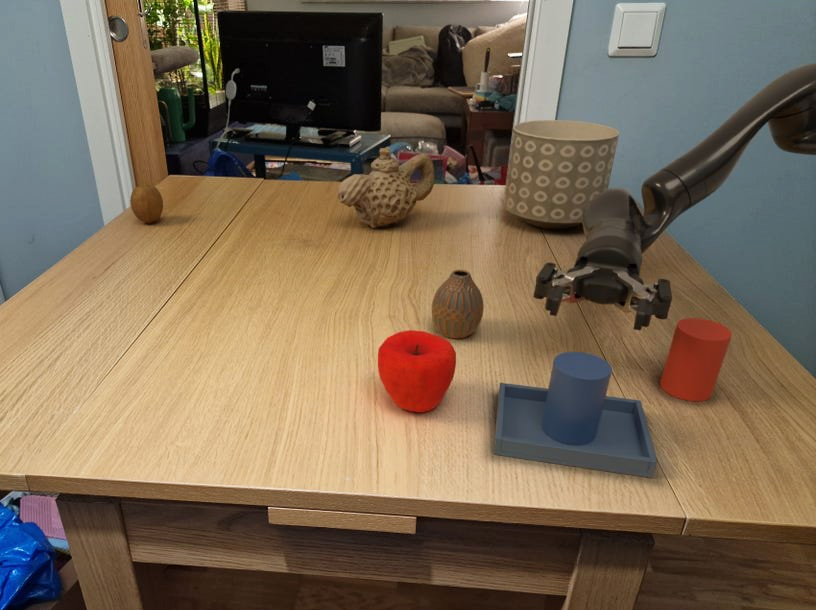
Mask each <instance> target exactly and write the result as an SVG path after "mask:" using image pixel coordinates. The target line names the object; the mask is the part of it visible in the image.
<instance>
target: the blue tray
mask: <svg viewBox="0 0 816 610" xmlns="http://www.w3.org/2000/svg"><path fill="white" fill-rule="evenodd" d="M547 393H548V388H547V387H538V386H529V385H522V384H516V383H514V384H513V383H507V382H500V383H499V387H498V394H497V404H496V405H497V406H496V417H495V418H496V419H495V431H494V434H495V435H494V446H493V455H495V456H502V457H509V458H516V459H522V460H530V461H534V462H542V463H550V464H555V465H562V466H568V467H569V466H570V467H575V468H576V467H577V468H583V469H589V470H595V471H603V472H610V473H615V474H622V475H628V476H634V477H642V478H647V479H653V478H654V475H655V471H656V468H657V464H658V460H657V456H656V453H655V448H654V445H653V441H652V437H651V434H650V429H649V427H648V422H647V418H646V416H645V415H646V414H645V411H644V408H643V403H642V401H641V400H640V399H632V398H624V397H617V396H608V395H606V397H605V402H604V406H603V410H602V414H601V418H600V422H599V426H598V431H597V435H596V438H595V439H594V440H593V441H592V442H591V443H588V444H585V445H568V444H564V443H560V442H558V441H555V440H553V439H552V438H550V437H549V436H547V435H546V434H545V432H544V431H543V429H542V420H543V414H544V409H545V404H546V399H547Z"/></svg>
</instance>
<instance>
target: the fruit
mask: <svg viewBox="0 0 816 610" xmlns="http://www.w3.org/2000/svg"><path fill="white" fill-rule="evenodd" d="M129 199H130V200H129V201H130V208H131V211H132V213H133V214H134V216H135V217H136V218H137V220H139V221H140V222H143V223H145V224H148V225H150V224H153V223H154V222H156V221H157V220H159V219H160V218H161V216H162V213H163V210H164V199H163V196H162V194H161V192H160V191H159V189H158V188H156V186H155V185H152V184H148V183H146V182H142V183H141V184H140V185H137V186H135V187H134V188H133V190H132V191H131V194H130V198H129Z"/></svg>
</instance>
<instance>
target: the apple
mask: <svg viewBox="0 0 816 610" xmlns="http://www.w3.org/2000/svg"><path fill="white" fill-rule="evenodd" d="M456 366H457V352H456V350H455V348H454V346H453V344H452V343H451V341H450V340H447V339H445V338H444V337H442V336H440V335H436V334H433V333H430V332H427V331H424V330H412V329H409V330H404V331H403V330H402V331H398V332H396V333H394V334H392V335H390V336H387V337H386V339H385V340H384V341H383V342H382V344H381V345H380V346H379V347H378V352H377V371H378V376H379V379H380V382H381V383H382V385H383V388H384V389H385V391H386V393H387V394H388V395H389V398H390V399H391V400H392V401H393V403H394V404H395V405H396V406H397V407H399V408H400V409H403V410H406V411H409V412H415V413H424V412H430V411H432V410H433V409H435V408H436V407H437V406H438V405H439V404H440V403H441V401H442V399H443V398H444V397H445V395H446V393H447V392H448V390H449V388H450V386H451V384H452V381H453V379H454V376H455V374H456V373H455V372H456Z"/></svg>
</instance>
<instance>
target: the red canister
mask: <svg viewBox="0 0 816 610" xmlns="http://www.w3.org/2000/svg"><path fill="white" fill-rule="evenodd" d="M674 329H675V330H674V332H673V336H672V340H671V343H670V347H669V351H668V353H667V357H666V360H665V364H664V368H663V371H662V375H661V378H660V381H659V384H660V387H661V390H663V391H664V392H665V393H667V394H668V395H670V396H671V397H674V398H677V399H680V400H683V401H689V402H703V401H707V400H709V399H710V398H711V397H712V396H713V392H714V390H715V387H716V383H717V380H718V378H719V374H720V372H721V369H722V367H723V366H722V365H723V362H724V360H725V357H726V354H727V351H728V347H729V345H730V342H731V338H732V335H733V332H732V331H731V329H729V328H728V327H727V326H726V325H723V324H722V323H719V322H716V321H713V320H710V319H705V318H698V317H688V318H682V319H680V320H679V321H677V323H676V326H675V328H674Z"/></svg>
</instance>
